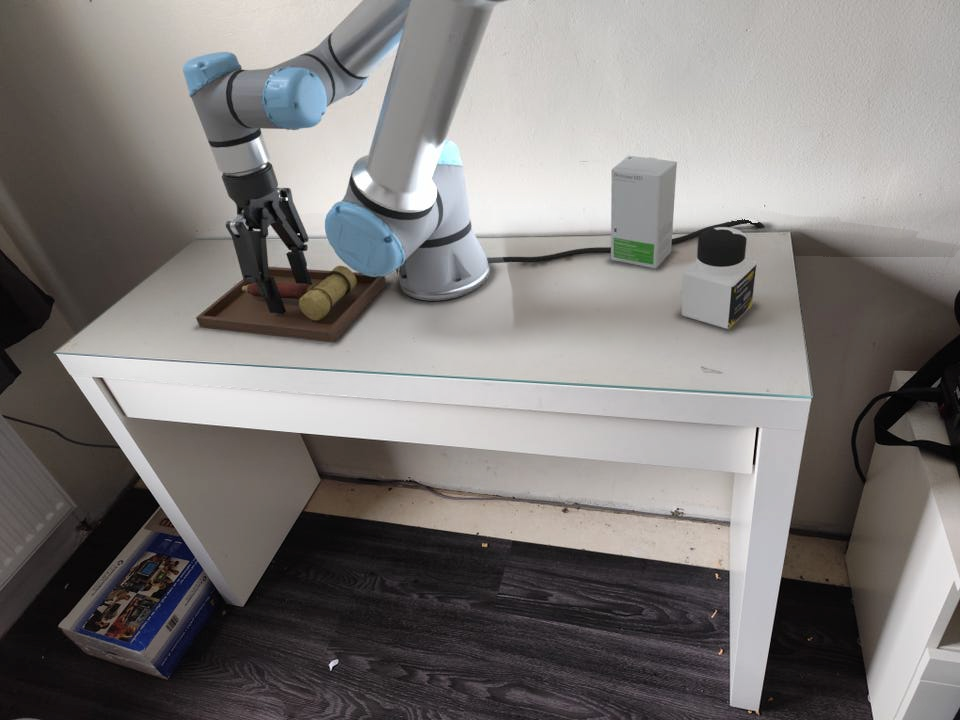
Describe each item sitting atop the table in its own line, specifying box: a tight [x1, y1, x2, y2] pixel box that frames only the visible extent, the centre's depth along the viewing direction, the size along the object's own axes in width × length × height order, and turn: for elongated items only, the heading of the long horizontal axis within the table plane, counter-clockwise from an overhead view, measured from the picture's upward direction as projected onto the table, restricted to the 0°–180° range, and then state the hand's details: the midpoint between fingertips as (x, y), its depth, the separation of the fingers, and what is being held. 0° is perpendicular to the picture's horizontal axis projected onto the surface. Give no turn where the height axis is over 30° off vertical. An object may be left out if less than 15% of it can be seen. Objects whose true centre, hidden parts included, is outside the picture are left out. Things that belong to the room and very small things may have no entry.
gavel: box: [242, 265, 357, 321], centre depth 112 cm, size 21×5×10 cm
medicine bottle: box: [681, 227, 757, 330], centre depth 91 cm, size 7×7×12 cm
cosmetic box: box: [610, 155, 678, 270], centre depth 105 cm, size 8×7×16 cm
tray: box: [195, 266, 388, 343], centre depth 113 cm, size 27×18×2 cm, turn 69°
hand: (291, 298), depth 113 cm, fingers closed on gavel, 7 cm apart
